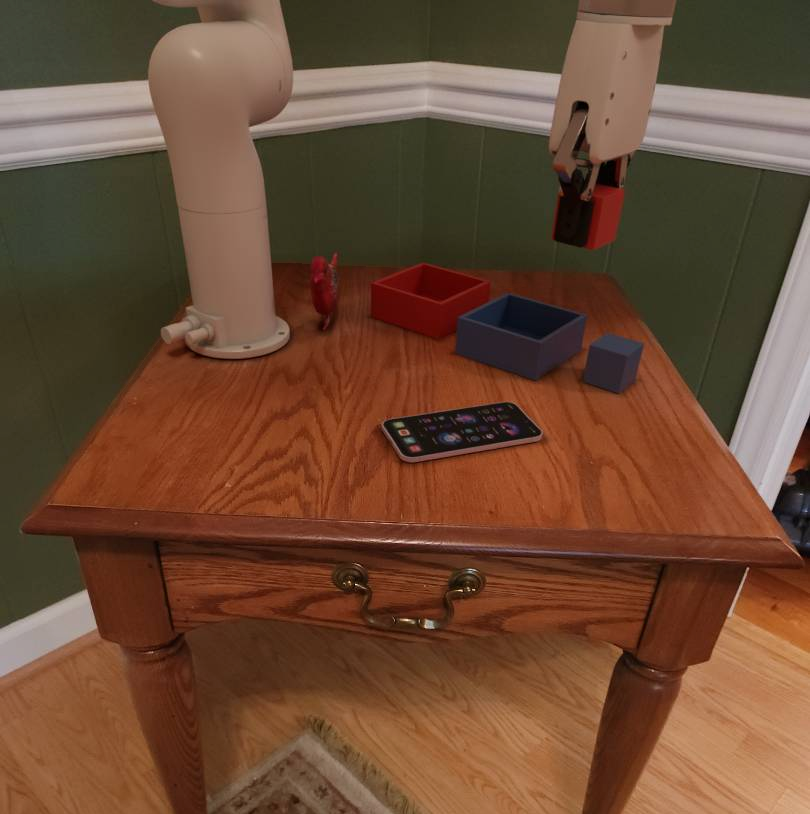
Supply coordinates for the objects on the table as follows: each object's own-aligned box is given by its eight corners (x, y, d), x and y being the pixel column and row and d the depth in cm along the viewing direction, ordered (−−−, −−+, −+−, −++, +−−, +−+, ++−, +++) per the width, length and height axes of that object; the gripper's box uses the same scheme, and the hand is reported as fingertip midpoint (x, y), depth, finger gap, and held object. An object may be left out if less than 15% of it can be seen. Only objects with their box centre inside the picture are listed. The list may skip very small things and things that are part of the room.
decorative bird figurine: (306, 346, 88) (301, 262, 82) (327, 295, 102) (325, 219, 96) (330, 348, 88) (327, 264, 82) (348, 296, 102) (346, 220, 96)
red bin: (439, 339, 91) (441, 304, 88) (370, 316, 96) (370, 282, 93) (487, 314, 98) (491, 281, 95) (421, 294, 103) (422, 262, 100)
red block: (593, 250, 67) (603, 197, 64) (550, 239, 69) (558, 188, 66) (615, 240, 70) (625, 189, 67) (573, 230, 72) (582, 180, 69)
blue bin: (535, 381, 83) (541, 343, 80) (454, 353, 88) (457, 317, 85) (581, 350, 90) (587, 314, 87) (503, 326, 95) (507, 292, 92)
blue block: (618, 394, 81) (627, 355, 78) (582, 381, 83) (589, 344, 80) (635, 380, 83) (644, 343, 81) (599, 369, 86) (607, 332, 83)
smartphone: (378, 420, 73) (512, 400, 77) (378, 425, 73) (512, 404, 77) (404, 459, 67) (547, 435, 72) (404, 464, 68) (546, 440, 72)
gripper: (629, -3, 65) (589, 213, 76) (531, -4, 54) (501, 248, 66) (711, 2, 61) (656, 228, 73) (624, 3, 51) (575, 268, 62)
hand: (583, 235), depth 69 cm, fingers closed on red block, 4 cm apart
